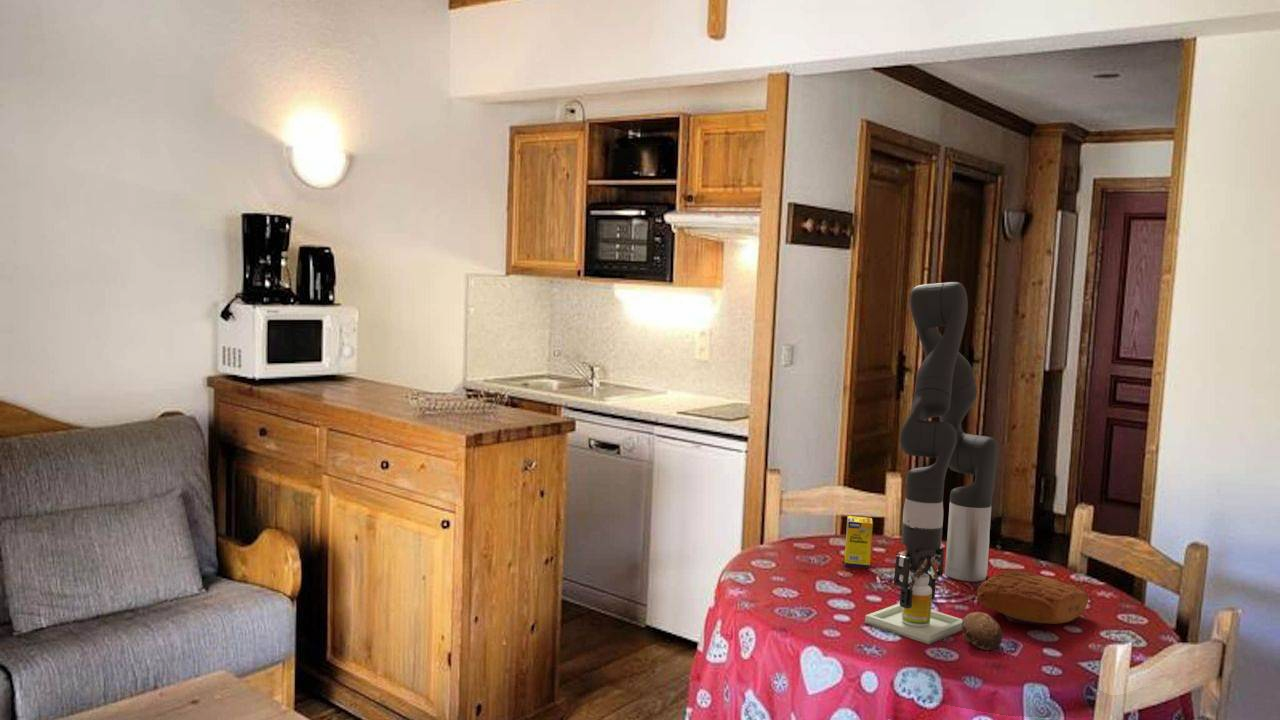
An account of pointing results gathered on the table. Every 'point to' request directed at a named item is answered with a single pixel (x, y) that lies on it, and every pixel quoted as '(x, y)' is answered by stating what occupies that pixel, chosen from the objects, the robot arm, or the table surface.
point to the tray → (893, 622)
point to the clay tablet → (1032, 597)
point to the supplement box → (858, 541)
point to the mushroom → (981, 630)
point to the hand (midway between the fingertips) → (917, 602)
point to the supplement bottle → (919, 604)
